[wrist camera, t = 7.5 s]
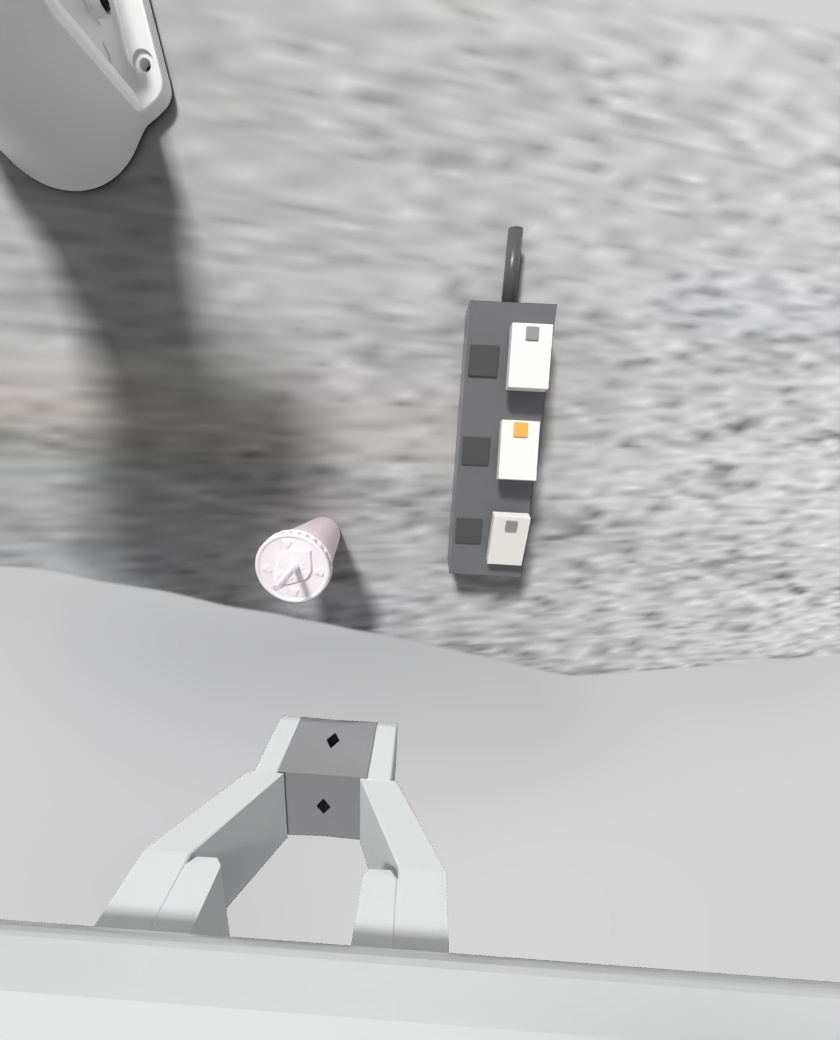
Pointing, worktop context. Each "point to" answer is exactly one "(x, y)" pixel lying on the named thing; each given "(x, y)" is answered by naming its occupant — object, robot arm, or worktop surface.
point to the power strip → (490, 422)
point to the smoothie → (298, 560)
